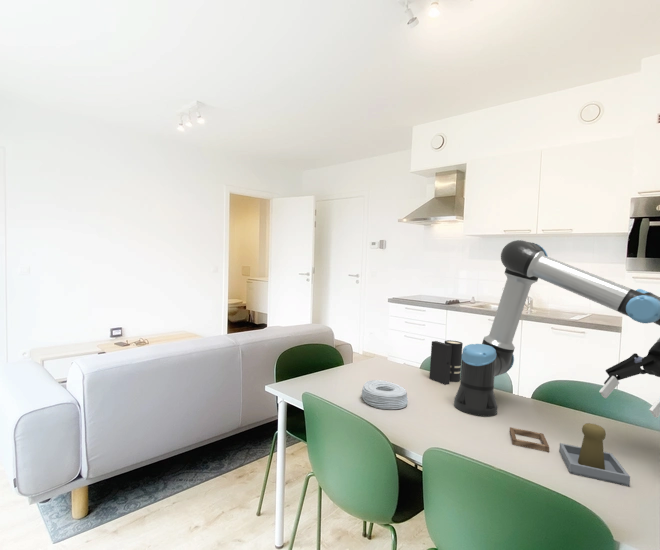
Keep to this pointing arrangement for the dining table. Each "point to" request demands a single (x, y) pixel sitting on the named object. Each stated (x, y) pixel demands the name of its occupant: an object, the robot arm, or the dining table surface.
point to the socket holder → (532, 445)
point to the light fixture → (446, 361)
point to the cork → (592, 446)
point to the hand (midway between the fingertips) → (626, 403)
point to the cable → (384, 395)
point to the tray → (610, 474)
